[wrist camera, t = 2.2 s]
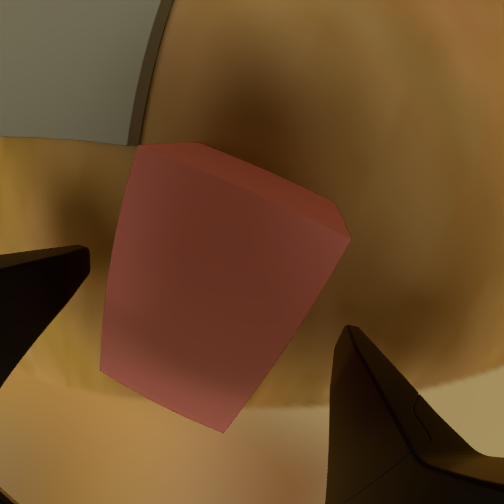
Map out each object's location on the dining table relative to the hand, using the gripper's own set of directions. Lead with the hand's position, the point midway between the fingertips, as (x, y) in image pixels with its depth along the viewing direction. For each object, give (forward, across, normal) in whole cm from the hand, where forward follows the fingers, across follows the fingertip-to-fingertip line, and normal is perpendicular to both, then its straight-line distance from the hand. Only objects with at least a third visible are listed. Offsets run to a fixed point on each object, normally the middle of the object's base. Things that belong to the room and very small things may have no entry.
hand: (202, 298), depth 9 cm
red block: (+2, 0, 0) cm, 2 cm away
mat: (+2, +13, -11) cm, 17 cm away
